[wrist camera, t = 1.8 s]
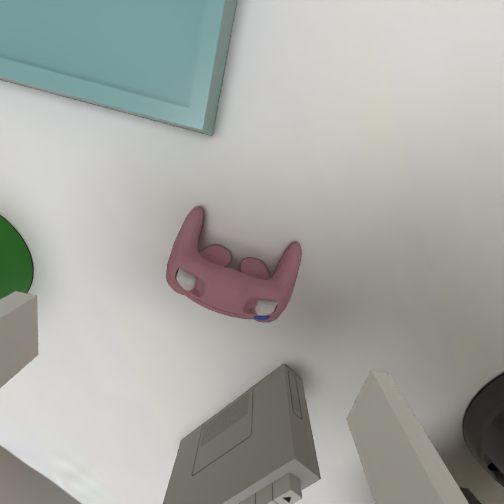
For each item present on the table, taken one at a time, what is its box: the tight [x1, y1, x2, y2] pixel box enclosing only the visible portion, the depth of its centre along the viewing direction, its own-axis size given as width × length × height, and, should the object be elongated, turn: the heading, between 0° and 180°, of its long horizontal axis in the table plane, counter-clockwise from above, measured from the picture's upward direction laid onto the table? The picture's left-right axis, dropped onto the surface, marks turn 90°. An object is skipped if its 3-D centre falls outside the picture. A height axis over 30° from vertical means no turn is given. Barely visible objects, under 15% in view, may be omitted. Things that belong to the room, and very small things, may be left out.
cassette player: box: [163, 364, 321, 504], centre depth 24 cm, size 16×3×10 cm, turn 134°
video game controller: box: [166, 206, 301, 322], centre depth 20 cm, size 10×5×7 cm, turn 70°
